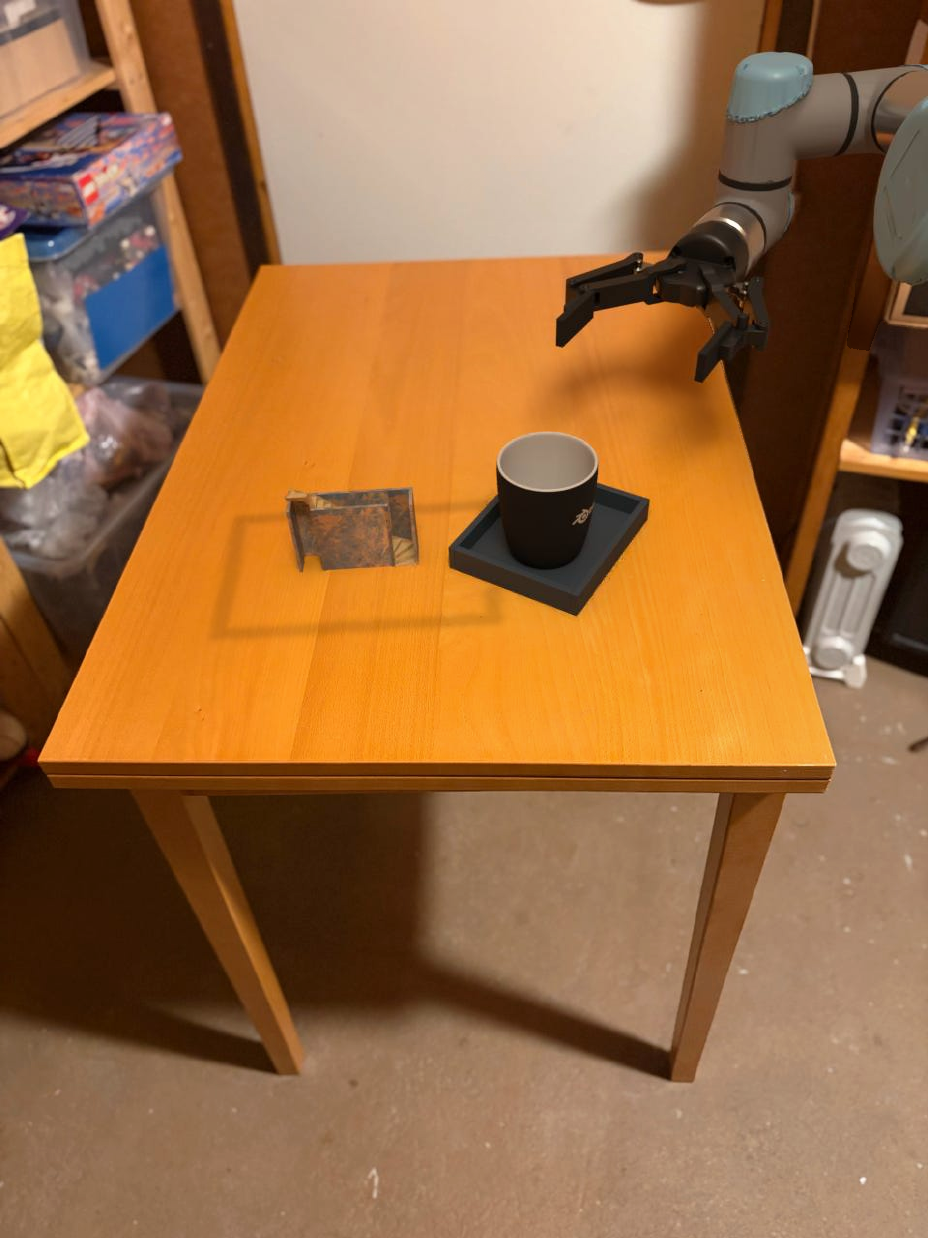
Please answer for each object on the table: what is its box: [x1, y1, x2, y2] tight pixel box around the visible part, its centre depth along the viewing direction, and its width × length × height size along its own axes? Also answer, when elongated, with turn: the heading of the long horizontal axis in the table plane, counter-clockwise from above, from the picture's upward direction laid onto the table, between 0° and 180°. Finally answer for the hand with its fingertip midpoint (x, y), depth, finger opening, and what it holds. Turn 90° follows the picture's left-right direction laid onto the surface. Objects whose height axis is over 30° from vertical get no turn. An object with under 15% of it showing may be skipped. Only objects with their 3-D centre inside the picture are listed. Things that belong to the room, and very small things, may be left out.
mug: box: [495, 431, 600, 569], centre depth 86 cm, size 12×9×10 cm
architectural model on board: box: [284, 486, 420, 573], centre depth 86 cm, size 11×3×10 cm, turn 92°
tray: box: [447, 482, 651, 617], centre depth 89 cm, size 13×15×2 cm
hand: (627, 350), depth 83 cm, fingers open, 13 cm apart
